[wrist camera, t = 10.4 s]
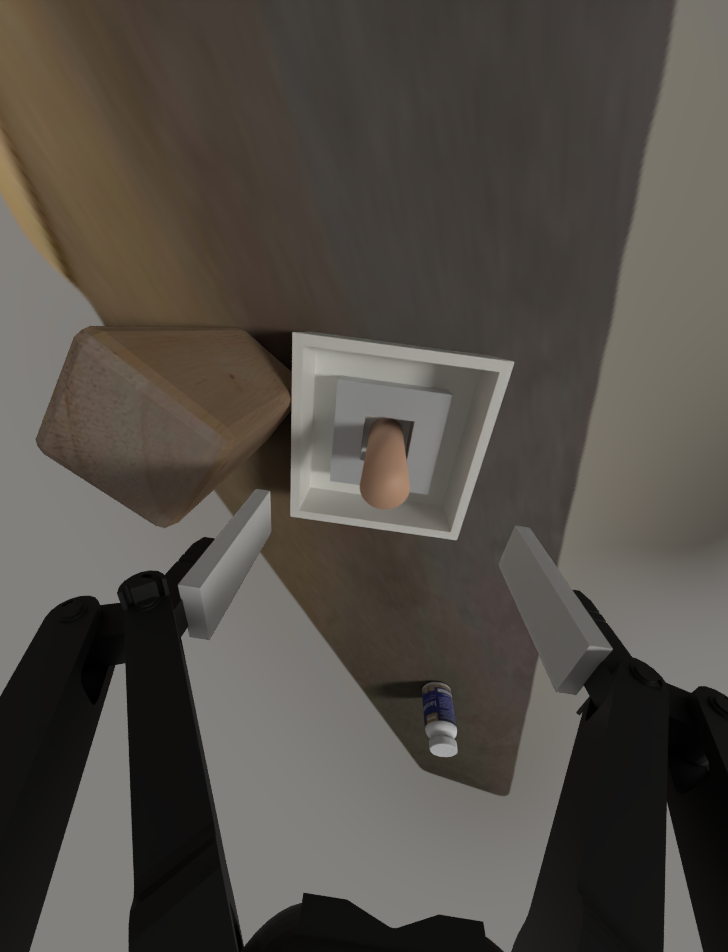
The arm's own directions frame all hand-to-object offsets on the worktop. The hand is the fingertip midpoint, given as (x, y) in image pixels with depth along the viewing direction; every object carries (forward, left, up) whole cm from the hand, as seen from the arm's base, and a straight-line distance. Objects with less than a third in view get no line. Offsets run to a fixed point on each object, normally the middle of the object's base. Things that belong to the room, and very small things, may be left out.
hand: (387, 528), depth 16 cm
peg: (+2, 0, -22) cm, 22 cm away
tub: (+2, 0, -23) cm, 23 cm away
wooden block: (-1, -17, -23) cm, 29 cm away
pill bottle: (+54, +18, -23) cm, 61 cm away
